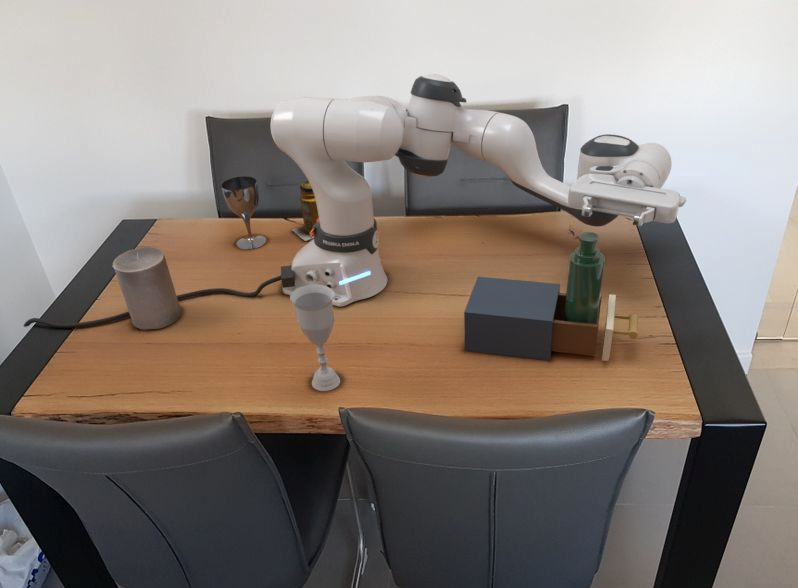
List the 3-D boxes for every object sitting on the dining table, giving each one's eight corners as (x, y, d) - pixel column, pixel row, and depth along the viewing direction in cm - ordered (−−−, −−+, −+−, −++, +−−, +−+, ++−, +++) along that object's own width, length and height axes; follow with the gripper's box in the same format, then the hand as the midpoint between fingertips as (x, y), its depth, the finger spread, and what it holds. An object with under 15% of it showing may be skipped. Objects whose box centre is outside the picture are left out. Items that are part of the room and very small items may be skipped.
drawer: (635, 327, 133) (640, 296, 129) (633, 364, 124) (639, 332, 120) (534, 317, 138) (536, 287, 134) (526, 352, 129) (528, 320, 125)
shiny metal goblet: (264, 249, 168) (252, 189, 159) (231, 250, 168) (217, 191, 159) (270, 233, 174) (259, 175, 165) (238, 235, 174) (225, 177, 165)
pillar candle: (166, 299, 151) (147, 236, 143) (190, 316, 146) (171, 251, 137) (123, 318, 146) (101, 254, 137) (146, 336, 140) (124, 270, 132)
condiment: (336, 231, 173) (330, 185, 166) (305, 241, 170) (297, 194, 163) (322, 221, 178) (316, 175, 171) (292, 230, 175) (284, 184, 168)
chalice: (298, 389, 125) (281, 302, 114) (316, 366, 130) (302, 281, 119) (335, 397, 122) (322, 310, 112) (352, 374, 127) (341, 288, 117)
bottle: (561, 341, 129) (569, 243, 117) (564, 323, 133) (572, 227, 122) (594, 345, 127) (606, 246, 116) (596, 327, 132) (608, 229, 120)
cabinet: (557, 322, 138) (560, 283, 132) (549, 360, 128) (552, 321, 123) (477, 313, 141) (477, 276, 136) (464, 350, 131) (464, 312, 126)
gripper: (685, 212, 135) (666, 244, 126) (581, 194, 144) (556, 223, 134) (691, 181, 131) (672, 211, 122) (584, 164, 140) (559, 191, 130)
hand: (611, 217), depth 128 cm, fingers open, 8 cm apart
